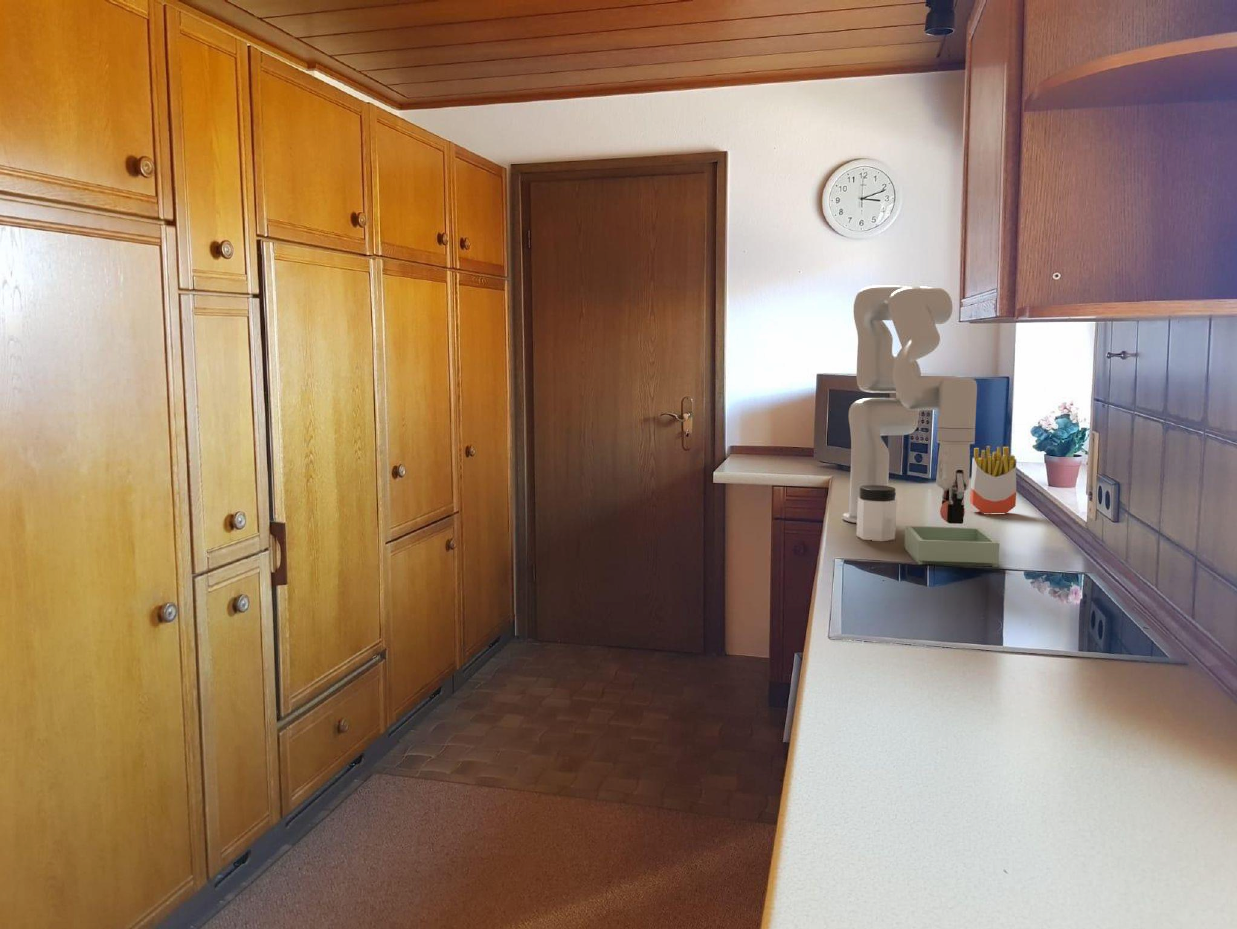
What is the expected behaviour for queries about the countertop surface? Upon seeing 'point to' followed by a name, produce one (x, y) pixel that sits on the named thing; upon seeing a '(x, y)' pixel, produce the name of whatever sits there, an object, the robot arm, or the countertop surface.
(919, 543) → the green bin
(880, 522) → the jar
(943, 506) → the tomato ball
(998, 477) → the french fries container
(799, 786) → the countertop surface
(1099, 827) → the countertop surface
